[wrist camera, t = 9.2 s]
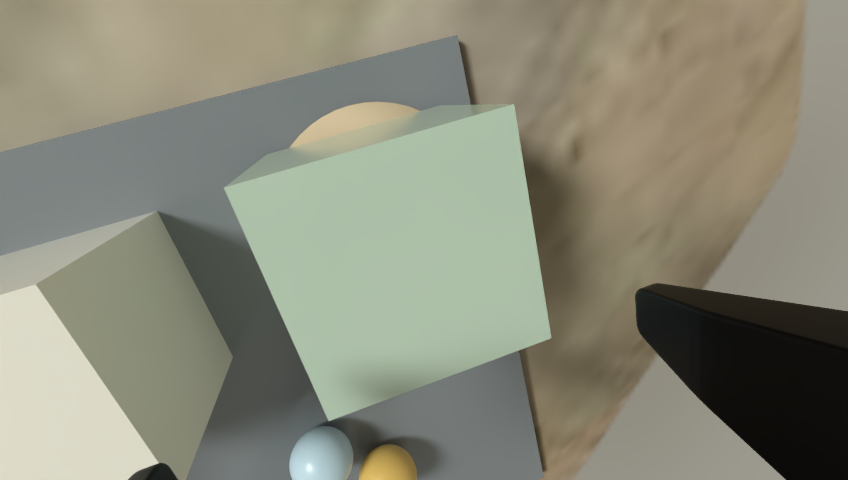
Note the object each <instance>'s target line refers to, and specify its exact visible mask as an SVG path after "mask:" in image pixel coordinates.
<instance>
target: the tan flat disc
mask: <svg viewBox="0 0 848 480" xmlns="http://www.w3.org/2000/svg"><path fill="white" fill-rule="evenodd" d="M415 112H419V110H417V109H414V108H411V107H409V106H405V105H401V104H396V103H388V102H365V103H359V104H354V105H349V106H346V107H343V108H340V109H337V110H335V111H333V112H331V113H329V114H327V115H325V116H323V117H321V118H320V119H318V120H317V121H316V122H314V123H313V124H311V125H310V126H309V127H308V128H307V129H306V130H305V131H304V132H303V133H301V134H300V135H299V136H298V138H297V139H296V140H295V141H294V143H293V144H292V145H291V146H290V148H291V147H294V146H298V145H302V144H305V143H309V142H312V141H316V140H319V139H323V138H326V137H330V136H334V135H337V134H341V133H344V132H348V131H351V130H355V129H358V128H362V127H365V126H369V125H373V124H376V123H380V122H383V121H387V120H390V119H394V118H397V117H401V116H405V115H408V114H412V113H415Z"/></svg>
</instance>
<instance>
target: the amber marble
mask: <svg viewBox="0 0 848 480" xmlns="http://www.w3.org/2000/svg"><path fill="white" fill-rule="evenodd" d="M359 480H417V470H416V466H415V463H414V461H413V459H412V457H411V456H410V454H409V453H408V452H407V451H406V450H405V449H403V448H402V447H400V446H397V445H393V444H385V445H381V446H378V447H376V448H375V449H373V450H372V451H371V452H370V453H369V454H368V455H367V456H366V457H365V459H364V461H363V463H362V465H361V468H360V471H359Z"/></svg>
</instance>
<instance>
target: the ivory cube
mask: <svg viewBox="0 0 848 480" xmlns="http://www.w3.org/2000/svg"><path fill="white" fill-rule="evenodd" d="M232 358H233V356H232V354H231V352H230V350H229V348H228V346H227V344H226V342H225V340H224V338H223V337H222V335H221V333H220V331H219V329H218V327H217V325H216V323H215V321H214V319H213V317H212V315H211V314H210V312H209V310H208V308H207V306H206V304H205V302H204V300H203V298H202V296H201V294H200V292H199V291H198V289H197V287H196V285H195V283H194V281H193V279H192V277H191V275H190V273H189V271H188V269H187V267H186V266H185V264H184V262H183V260H182V258H181V256H180V254H179V252H178V250H177V248H176V246H175V244H174V243H173V241H172V239H171V237H170V235H169V233H168V231H167V229H166V227H165V225H164V223H163V221H162V220H161V218H160V216H159V214H158V212H157V211H155V212H152V213H148V214H145V215H141V216H138V217H134V218H131V219H127V220H124V221H120V222H117V223H113V224H110V225H106V226H103V227H99V228H96V229H92V230H89V231H85V232H82V233H78V234H75V235H71V236H68V237H64V238H61V239H57V240H54V241H51V242H47V243H44V244H40V245H37V246H33V247H30V248H26V249H23V250H19V251H16V252H12V253H9V254H5V255H2V256H0V480H128V479H129V478H130V477H131V476H132V475H133V474H134V473H135V472H137V471H139V470H141V469H144V468H147V467H150V466H152V465H155V464H158V463H165V464H167V465H168V466H169V467H170V468H171V469H172V471H173V472H174V474H175V475H176V477H177V478H178V480H186V478H187V476H188V473H189V471H190V468H191V465H192V463H193V460H194V458H195V455H196V452H197V450H198V447H199V444H200V442H201V439H202V437H203V434H204V431H205V429H206V426H207V424H208V421H209V418H210V416H211V413H212V411H213V408H214V405H215V403H216V400H217V397H218V395H219V392H220V390H221V387H222V384H223V382H224V379H225V377H226V374H227V371H228V369H229V366H230V364H231V361H232Z"/></svg>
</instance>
